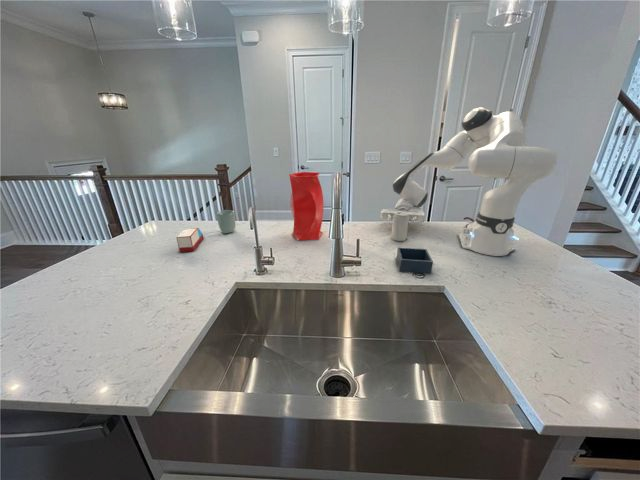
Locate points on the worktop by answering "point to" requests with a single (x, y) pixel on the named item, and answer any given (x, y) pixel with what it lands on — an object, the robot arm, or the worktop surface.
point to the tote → (414, 260)
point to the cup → (226, 221)
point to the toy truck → (189, 239)
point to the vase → (306, 205)
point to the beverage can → (400, 226)
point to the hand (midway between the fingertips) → (401, 220)
